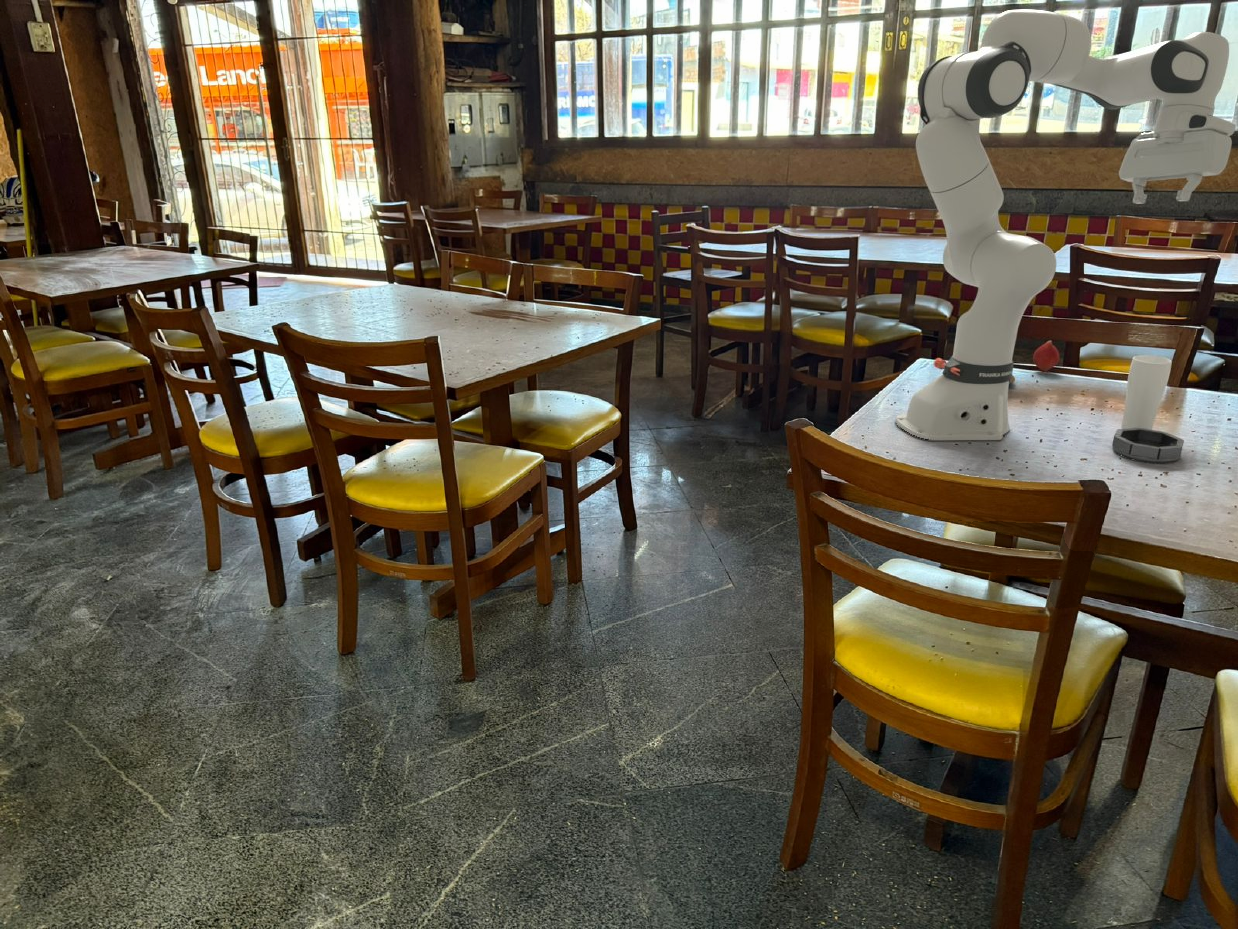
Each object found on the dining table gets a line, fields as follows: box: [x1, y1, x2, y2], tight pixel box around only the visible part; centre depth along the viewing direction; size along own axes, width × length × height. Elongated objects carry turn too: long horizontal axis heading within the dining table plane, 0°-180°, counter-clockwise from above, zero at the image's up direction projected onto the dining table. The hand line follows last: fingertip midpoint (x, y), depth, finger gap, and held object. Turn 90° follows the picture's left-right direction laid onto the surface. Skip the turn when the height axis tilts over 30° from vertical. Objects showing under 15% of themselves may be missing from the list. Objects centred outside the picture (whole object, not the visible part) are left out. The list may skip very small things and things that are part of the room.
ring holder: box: [1111, 428, 1185, 465], centre depth 158 cm, size 11×11×3 cm
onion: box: [1032, 340, 1060, 372], centre depth 210 cm, size 6×6×8 cm
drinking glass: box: [1121, 354, 1173, 430], centre depth 167 cm, size 7×7×15 cm
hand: (1159, 201), depth 162 cm, fingers open, 8 cm apart
